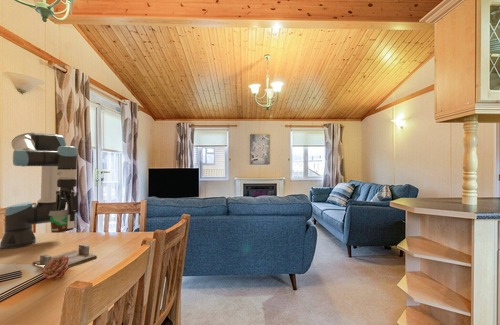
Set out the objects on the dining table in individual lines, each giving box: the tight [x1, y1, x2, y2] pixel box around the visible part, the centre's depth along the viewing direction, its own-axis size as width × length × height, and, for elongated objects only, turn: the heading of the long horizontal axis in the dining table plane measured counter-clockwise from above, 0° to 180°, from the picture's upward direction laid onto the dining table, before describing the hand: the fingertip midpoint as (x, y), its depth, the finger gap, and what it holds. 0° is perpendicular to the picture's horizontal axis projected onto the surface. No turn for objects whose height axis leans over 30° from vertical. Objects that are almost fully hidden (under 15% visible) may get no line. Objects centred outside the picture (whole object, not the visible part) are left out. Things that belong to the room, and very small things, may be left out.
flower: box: [42, 255, 70, 281], centre depth 101 cm, size 10×9×8 cm
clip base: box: [32, 243, 98, 268], centre depth 118 cm, size 18×18×5 cm
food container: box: [49, 209, 75, 233], centre depth 118 cm, size 12×6×10 cm, turn 168°
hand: (66, 227), depth 118 cm, fingers closed on food container, 7 cm apart
